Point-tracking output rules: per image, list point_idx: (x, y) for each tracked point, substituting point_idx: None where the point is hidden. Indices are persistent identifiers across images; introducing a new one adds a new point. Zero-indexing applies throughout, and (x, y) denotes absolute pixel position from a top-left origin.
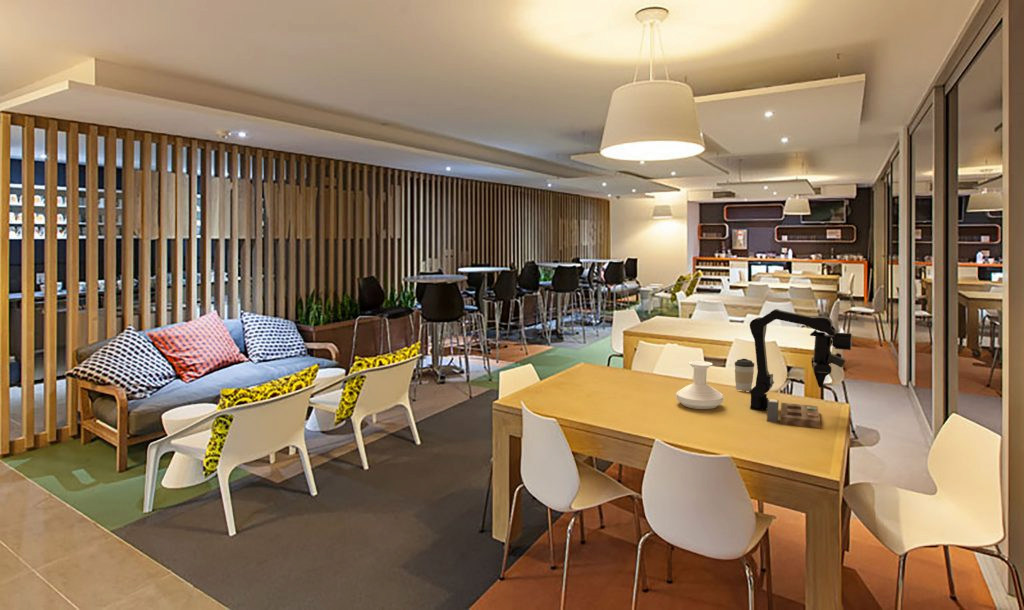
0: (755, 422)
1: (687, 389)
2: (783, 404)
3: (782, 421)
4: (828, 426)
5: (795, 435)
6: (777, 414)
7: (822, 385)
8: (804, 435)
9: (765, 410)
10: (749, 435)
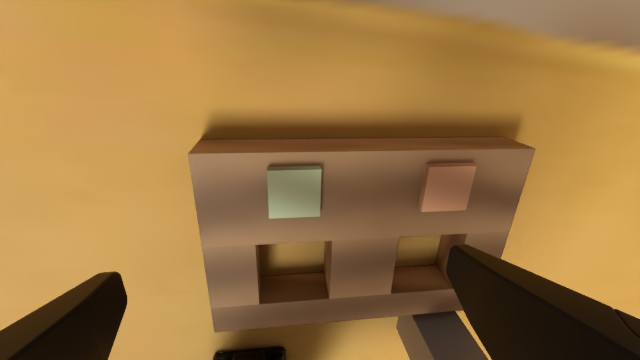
0: None
1: None
2: (252, 320)
3: None
4: (463, 92)
5: (604, 227)
6: (460, 322)
7: (492, 255)
8: (605, 198)
9: (284, 348)
10: None
